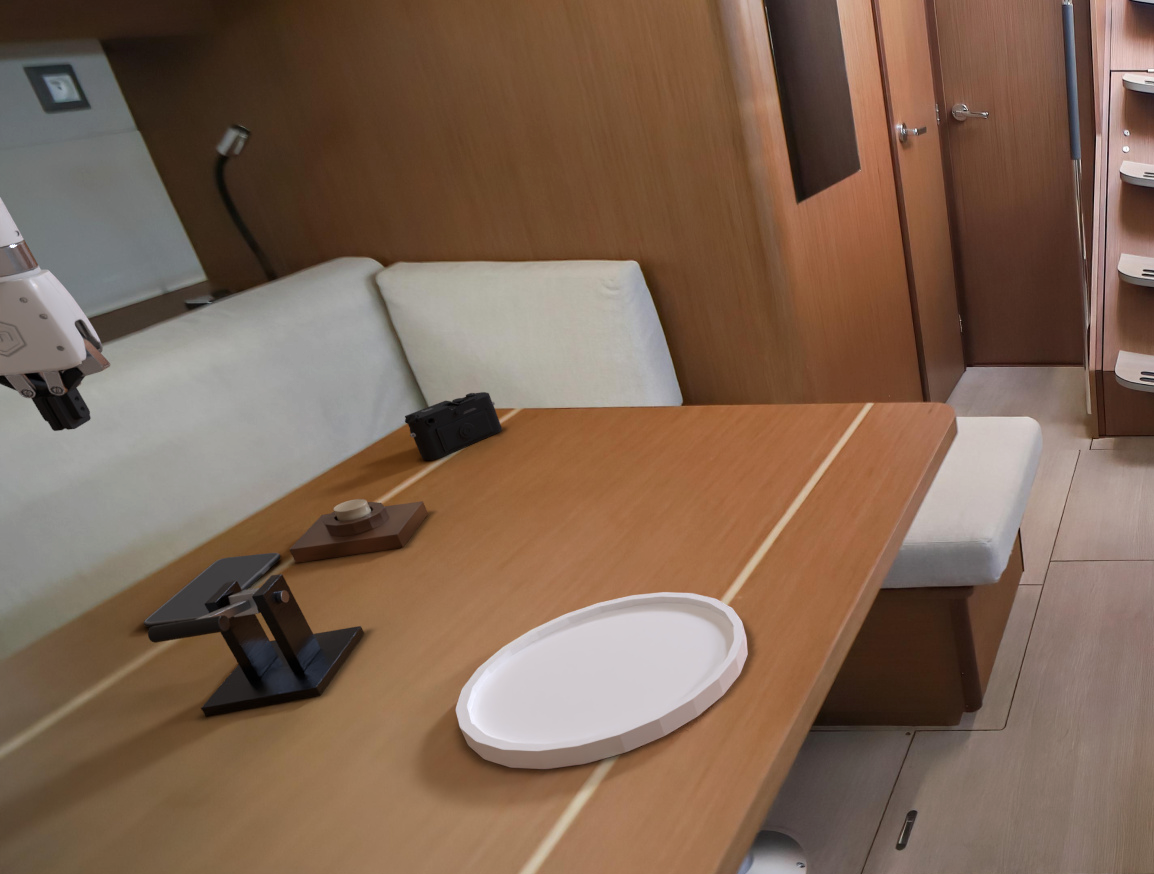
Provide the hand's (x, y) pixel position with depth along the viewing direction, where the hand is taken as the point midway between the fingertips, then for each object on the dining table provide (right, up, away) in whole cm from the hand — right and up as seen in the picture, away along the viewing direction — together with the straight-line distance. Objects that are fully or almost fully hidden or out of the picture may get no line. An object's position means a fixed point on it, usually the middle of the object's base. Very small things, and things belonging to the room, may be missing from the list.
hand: (72, 424), depth 106 cm
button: (+5, -12, +29) cm, 31 cm away
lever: (+22, -21, -5) cm, 31 cm away
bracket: (+20, -29, +4) cm, 35 cm away
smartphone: (-3, -21, +18) cm, 28 cm away
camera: (-5, -2, +58) cm, 58 cm away
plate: (+58, -30, +4) cm, 65 cm away
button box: (+5, -15, +30) cm, 34 cm away
